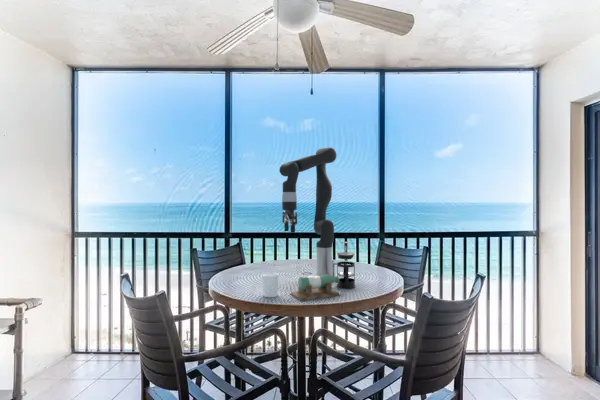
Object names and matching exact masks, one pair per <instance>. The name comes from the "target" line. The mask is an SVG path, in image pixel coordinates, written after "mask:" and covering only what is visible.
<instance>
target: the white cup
mask: <svg viewBox="0 0 600 400" xmlns="http://www.w3.org/2000/svg"><path fill="white" fill-rule="evenodd" d="M279 275H280V274H279V273H278V272H272V271H271V272H264V273H262V274H261V284H262V293H263V295H262V296H263V297H264V298H276V297H277V296H279V295H278V294H279V293H278V292H279Z"/></svg>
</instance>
